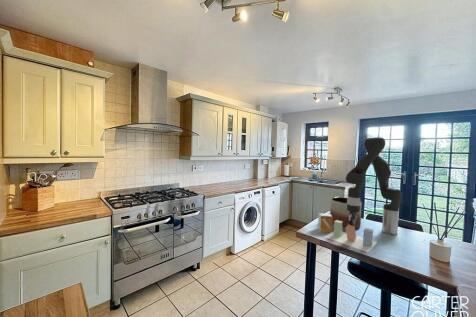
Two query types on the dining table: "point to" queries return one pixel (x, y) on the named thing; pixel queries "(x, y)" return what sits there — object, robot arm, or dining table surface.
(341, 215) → the planter
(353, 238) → the terracotta block
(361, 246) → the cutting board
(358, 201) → the robot arm
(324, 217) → the small box
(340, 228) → the sage block
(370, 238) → the slate blue block
